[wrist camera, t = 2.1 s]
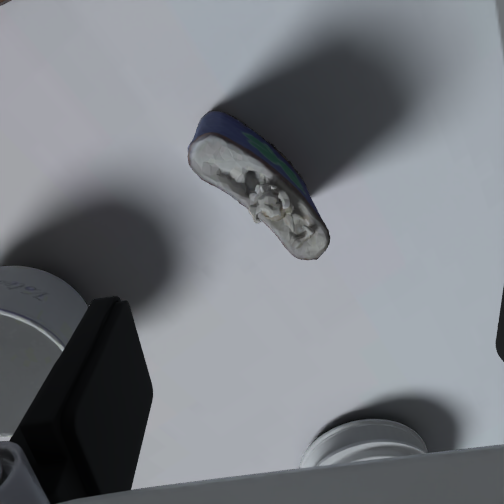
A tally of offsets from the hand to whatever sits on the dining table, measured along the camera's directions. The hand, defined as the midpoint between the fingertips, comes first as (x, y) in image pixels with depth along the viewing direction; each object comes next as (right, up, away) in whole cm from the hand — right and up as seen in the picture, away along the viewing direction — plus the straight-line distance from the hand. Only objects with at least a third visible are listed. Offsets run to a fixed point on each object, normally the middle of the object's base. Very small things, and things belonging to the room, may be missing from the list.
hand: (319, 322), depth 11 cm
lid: (+9, -19, +32) cm, 38 cm away
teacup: (-20, -3, +24) cm, 31 cm away
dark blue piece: (-1, +8, +19) cm, 21 cm away
